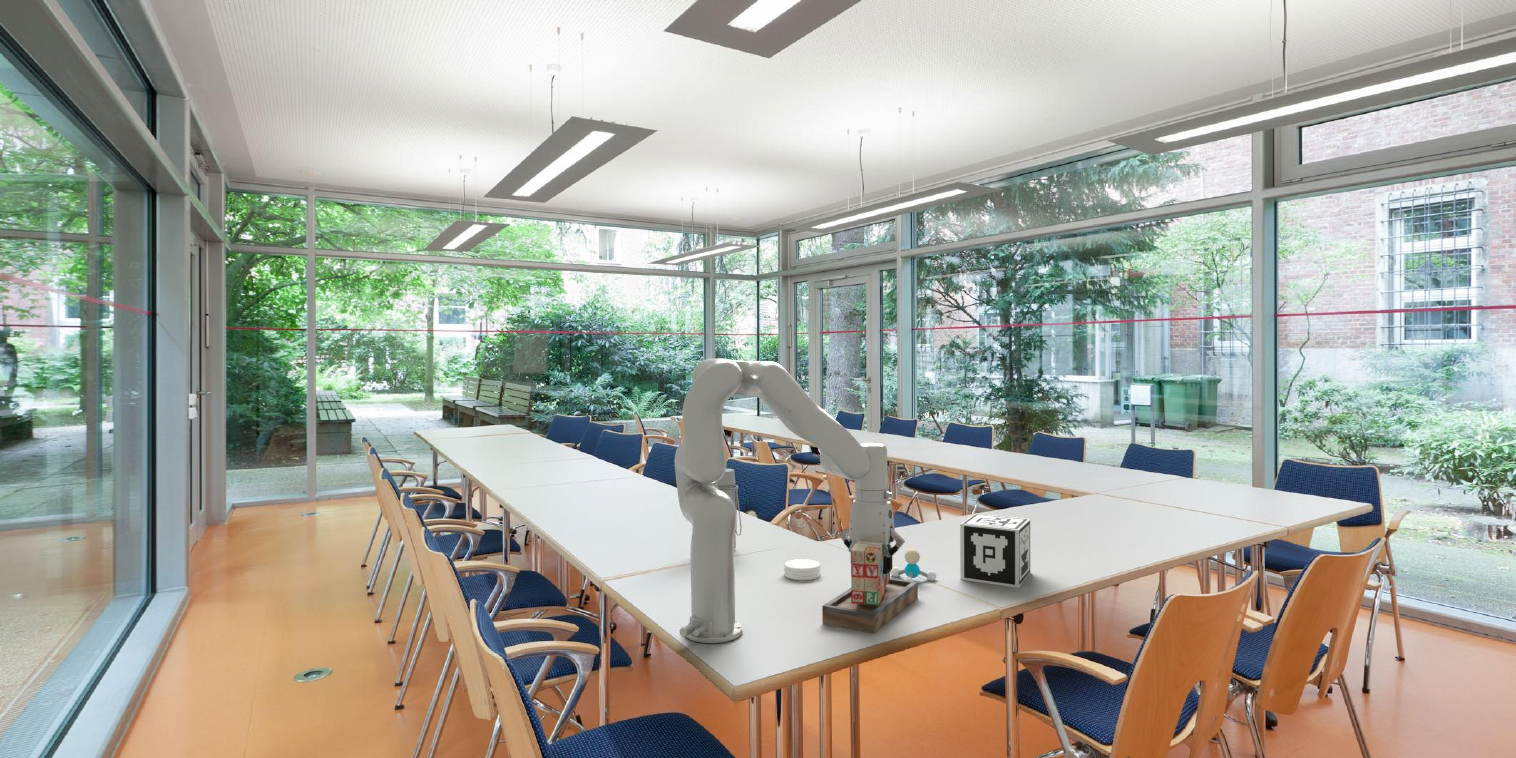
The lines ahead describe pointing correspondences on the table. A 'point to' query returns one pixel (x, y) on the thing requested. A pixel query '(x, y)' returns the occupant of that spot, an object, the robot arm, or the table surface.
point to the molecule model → (912, 567)
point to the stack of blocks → (867, 573)
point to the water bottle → (730, 492)
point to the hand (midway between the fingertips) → (871, 569)
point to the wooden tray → (870, 607)
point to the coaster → (802, 569)
